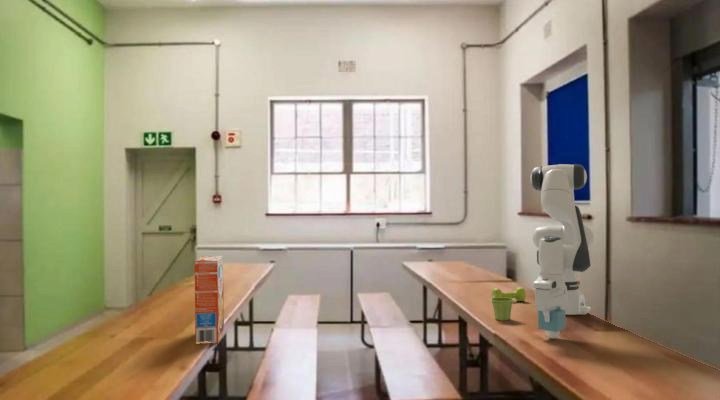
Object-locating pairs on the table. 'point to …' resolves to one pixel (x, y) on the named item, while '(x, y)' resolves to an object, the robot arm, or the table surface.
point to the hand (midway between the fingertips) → (552, 319)
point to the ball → (552, 334)
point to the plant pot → (502, 308)
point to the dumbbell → (510, 294)
